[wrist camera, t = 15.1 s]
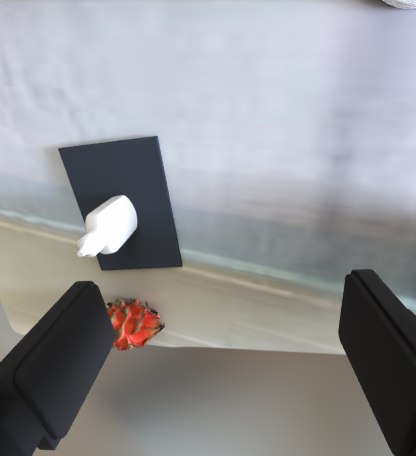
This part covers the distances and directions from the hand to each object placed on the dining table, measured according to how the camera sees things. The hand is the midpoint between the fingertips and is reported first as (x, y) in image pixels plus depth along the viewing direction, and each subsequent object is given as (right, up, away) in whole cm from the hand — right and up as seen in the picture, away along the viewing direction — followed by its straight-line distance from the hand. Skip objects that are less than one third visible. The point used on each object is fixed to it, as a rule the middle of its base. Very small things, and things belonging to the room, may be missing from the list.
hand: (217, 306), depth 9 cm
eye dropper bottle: (-13, +5, +28) cm, 31 cm away
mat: (-13, +5, +28) cm, 31 cm away
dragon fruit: (-13, -12, +36) cm, 40 cm away
